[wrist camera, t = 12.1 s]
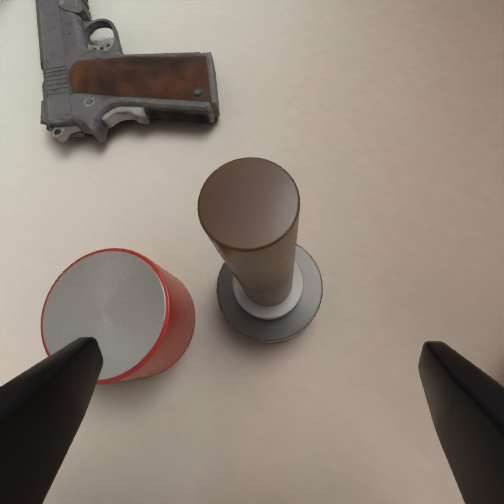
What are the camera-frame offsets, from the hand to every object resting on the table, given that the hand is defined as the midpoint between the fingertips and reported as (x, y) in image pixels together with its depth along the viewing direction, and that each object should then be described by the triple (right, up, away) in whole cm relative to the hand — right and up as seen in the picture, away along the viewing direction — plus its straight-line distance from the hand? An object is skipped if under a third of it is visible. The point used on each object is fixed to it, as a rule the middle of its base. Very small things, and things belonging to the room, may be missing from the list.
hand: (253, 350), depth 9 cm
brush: (+1, 0, +12) cm, 13 cm away
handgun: (-11, +21, +20) cm, 31 cm away
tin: (-7, -2, +13) cm, 15 cm away
